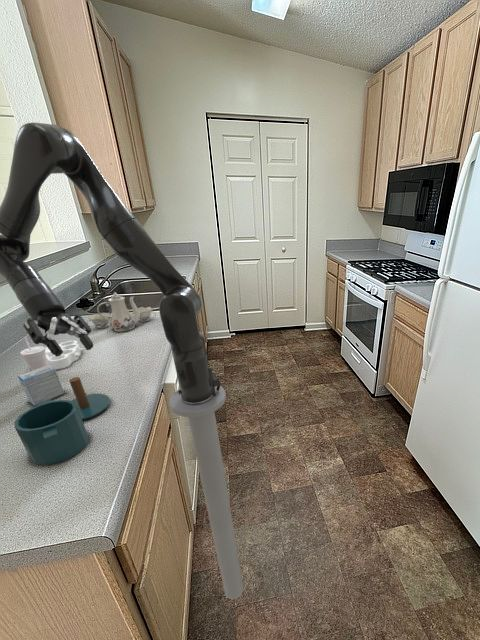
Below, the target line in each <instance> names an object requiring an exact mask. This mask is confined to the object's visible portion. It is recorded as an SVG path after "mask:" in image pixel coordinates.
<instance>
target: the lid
mask: <svg viewBox="0 0 480 640" xmlns="http://www.w3.org/2000/svg"><path fill="white" fill-rule="evenodd" d="M68 381H69V384H70V387H71V389H72V392H73V394H74V397H75V398H73V399H71V400H70V401H72V402H74V403H76V406H77V408H78V411H79V413H80V416H81V418H82V421H83V420H86V419H90V418H93V417H94V416H97V415H99V414H100V413H102V412H103V411H105V410H106V409H107V408H108V407H109V406H110V404H111V399H110V397H109V396H108V395H106V394H104V393H90V394H86V391H85V388H84V386H83V382H82V380H81V377H79V376H75V377H72V378H70V379H69V380H68Z"/></svg>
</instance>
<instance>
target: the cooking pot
mask: <svg viewBox="0 0 480 640" xmlns="http://www.w3.org/2000/svg"><path fill="white" fill-rule="evenodd" d="M14 429H15V431H16V433H17V434H18V437H19V439H20V441H21V443H22V444H23V445H22V446H23V447H24V449H25V451H26V452H27V454H28V456H29V459H30V460H31V461H32V462H33V463H35V464H36V465H42V466H46V465H54V464H57V463H61V462H64V461H67V460H68V459H70V458H72V457H74V456H76V455H78V454H79V453H81V452H82V451H83V450H84V449H85V448H86V446H87V445H88V443H89V440H90V437H89V434H88V431H87V429H86V426H85V424H84V421H83V420H82V418H81V416H80V413H79V411H78V408H77V406H76V403H74V402H72V401H71V400H70V399H58V400H52V399H49V400H46V401H42V402H39V404H38V405H36V406H33V407H31V408H29V409H27V410H25V411H24V412H22V413H21V414H20V415H19V416H18V417H17V418H16V419H15V421H14Z"/></svg>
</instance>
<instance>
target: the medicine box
mask: <svg viewBox="0 0 480 640" xmlns="http://www.w3.org/2000/svg"><path fill="white" fill-rule="evenodd" d="M17 379H18V381H19V384H20V385H21V387H22V389H23V391H24V393H25V395H26V398H27V400H28V402H29V403H31V404H32V405H33V407H35V406H37V405H39V402H42V401H46V400H49V399H51V400H52V399H55V398H57V397H60V396H62V395H64V394H65V390H64V388H63V386H62V383H61V380H60V379H59V375H58V373H57V369H54V368H52V367H50V366H49V365H47V366H45V367H42V368H39V369H36V370H33V371H32V370H31V371H28V372H25V373H22V374H19V375H18V376H17Z"/></svg>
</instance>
